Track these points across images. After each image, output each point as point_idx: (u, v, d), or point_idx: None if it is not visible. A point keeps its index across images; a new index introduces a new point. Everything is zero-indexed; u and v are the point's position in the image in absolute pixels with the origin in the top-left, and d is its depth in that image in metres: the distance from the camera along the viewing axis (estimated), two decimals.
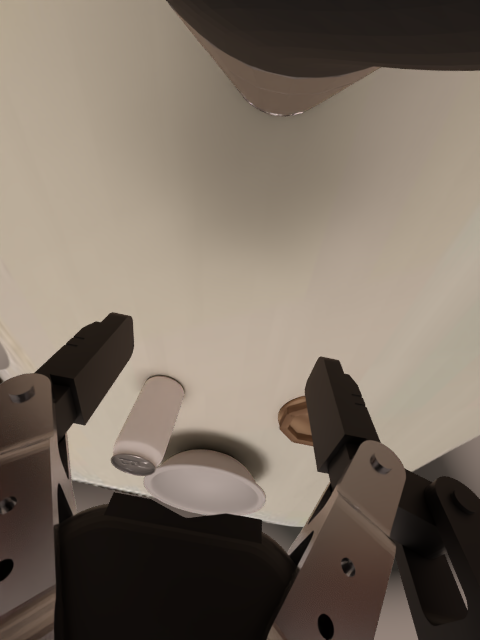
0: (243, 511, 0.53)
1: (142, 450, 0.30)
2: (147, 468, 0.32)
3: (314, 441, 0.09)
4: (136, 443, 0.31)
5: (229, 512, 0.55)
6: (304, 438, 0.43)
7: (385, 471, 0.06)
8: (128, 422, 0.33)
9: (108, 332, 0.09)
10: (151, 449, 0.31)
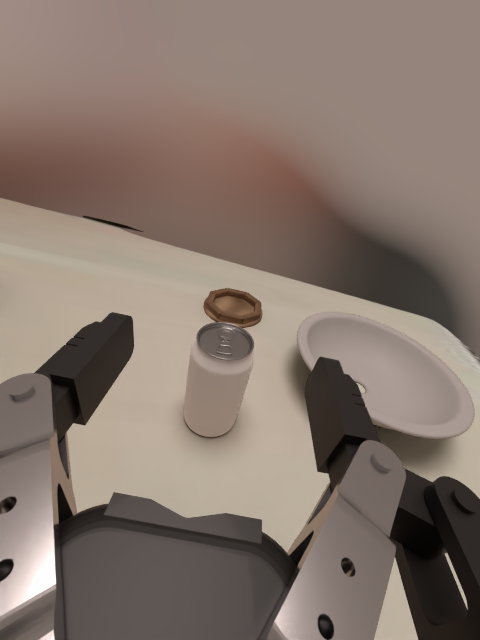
0: (390, 330, 0.44)
1: None
2: (236, 333, 0.26)
3: (314, 441, 0.09)
4: (193, 342, 0.25)
5: (411, 343, 0.42)
6: (254, 309, 0.51)
7: (385, 471, 0.06)
8: (192, 379, 0.25)
9: (108, 332, 0.09)
10: None
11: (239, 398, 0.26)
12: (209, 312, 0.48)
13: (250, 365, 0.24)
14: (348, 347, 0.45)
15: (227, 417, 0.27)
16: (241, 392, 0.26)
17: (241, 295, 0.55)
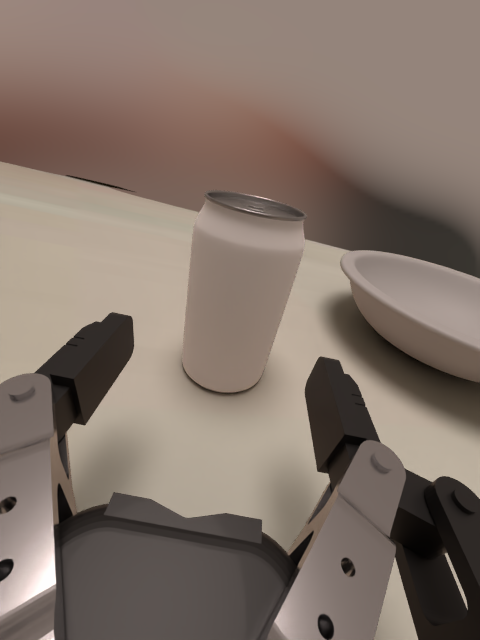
0: (455, 273, 0.34)
1: None
2: (271, 207, 0.15)
3: (314, 441, 0.09)
4: None
5: None
6: None
7: (385, 471, 0.06)
8: (196, 277, 0.14)
9: (108, 332, 0.09)
10: None
11: (277, 319, 0.15)
12: None
13: (301, 247, 0.13)
14: (399, 296, 0.34)
15: (255, 355, 0.16)
16: (281, 306, 0.15)
17: None
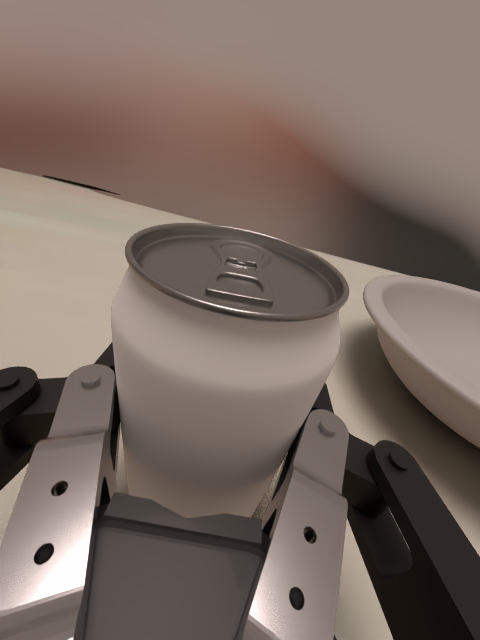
0: None
1: None
2: (271, 254, 0.08)
3: None
4: None
5: None
6: None
7: (329, 434, 0.07)
8: (121, 405, 0.07)
9: None
10: None
11: (282, 460, 0.08)
12: None
13: (337, 352, 0.06)
14: (432, 333, 0.27)
15: (243, 514, 0.09)
16: (291, 443, 0.08)
17: None
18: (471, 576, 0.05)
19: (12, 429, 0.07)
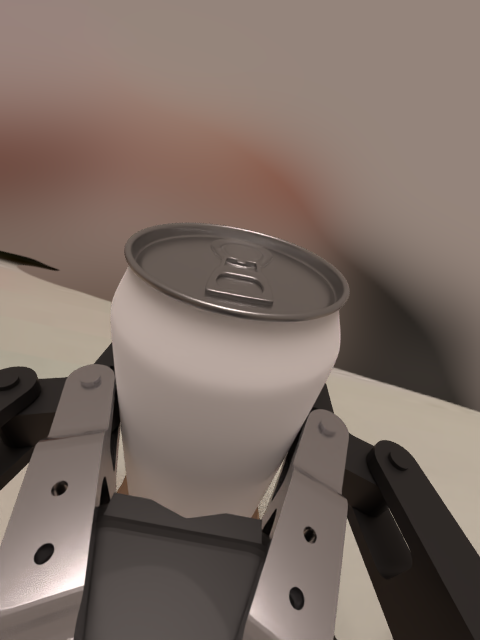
0: None
1: None
2: (271, 253, 0.08)
3: None
4: None
5: None
6: None
7: (329, 434, 0.07)
8: (121, 406, 0.07)
9: None
10: None
11: (282, 460, 0.08)
12: None
13: (337, 352, 0.06)
14: None
15: (243, 514, 0.09)
16: (291, 444, 0.08)
17: None
18: (471, 576, 0.05)
19: (12, 429, 0.07)
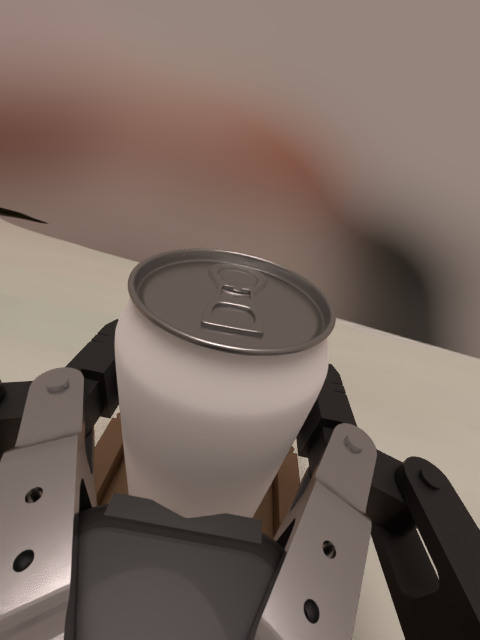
0: None
1: None
2: (266, 278, 0.09)
3: None
4: None
5: None
6: (276, 502, 0.13)
7: (357, 451, 0.07)
8: (123, 423, 0.07)
9: None
10: None
11: (275, 473, 0.09)
12: None
13: (324, 376, 0.07)
14: None
15: None
16: (283, 458, 0.08)
17: None
18: None
19: None
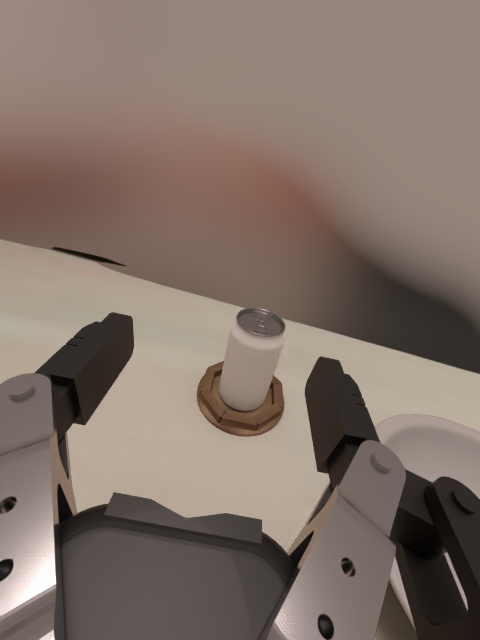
0: None
1: None
2: (268, 317, 0.30)
3: (314, 441, 0.09)
4: (232, 324, 0.29)
5: None
6: (273, 397, 0.34)
7: (385, 471, 0.06)
8: (232, 356, 0.29)
9: (108, 332, 0.09)
10: None
11: (271, 374, 0.30)
12: (205, 409, 0.32)
13: (282, 343, 0.28)
14: (429, 475, 0.28)
15: (260, 392, 0.31)
16: (273, 368, 0.30)
17: None
18: None
19: None
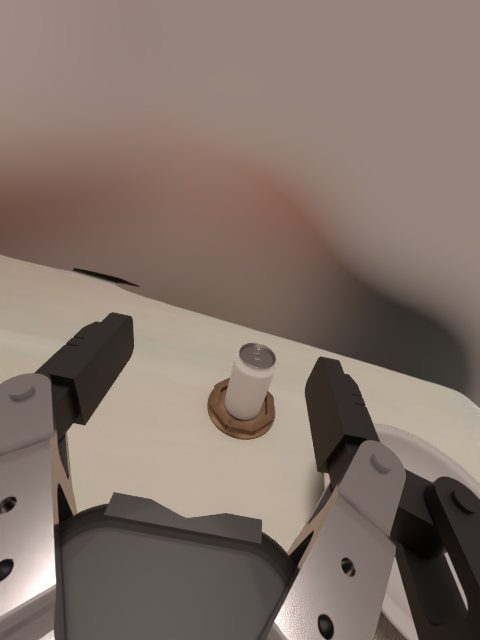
0: (428, 450, 0.37)
1: (239, 351, 0.39)
2: (263, 350, 0.40)
3: (314, 441, 0.09)
4: (236, 356, 0.39)
5: (456, 472, 0.35)
6: (266, 409, 0.44)
7: (385, 471, 0.06)
8: (235, 380, 0.39)
9: (108, 332, 0.09)
10: None
11: (265, 393, 0.40)
12: (214, 418, 0.41)
13: (273, 371, 0.38)
14: None
15: (256, 406, 0.41)
16: (266, 389, 0.40)
17: None
18: None
19: None
